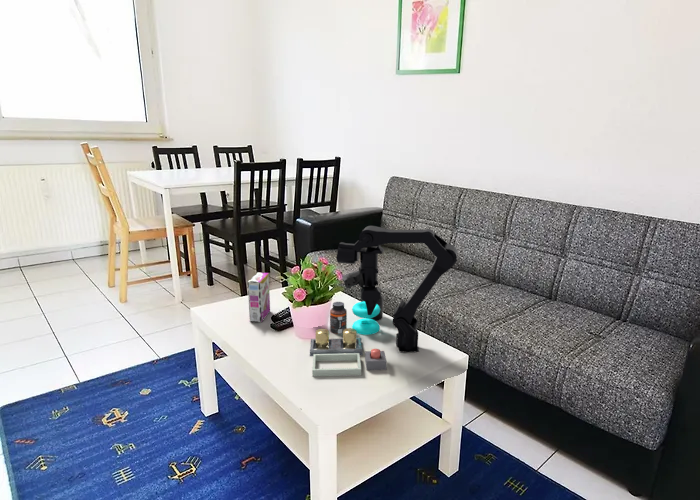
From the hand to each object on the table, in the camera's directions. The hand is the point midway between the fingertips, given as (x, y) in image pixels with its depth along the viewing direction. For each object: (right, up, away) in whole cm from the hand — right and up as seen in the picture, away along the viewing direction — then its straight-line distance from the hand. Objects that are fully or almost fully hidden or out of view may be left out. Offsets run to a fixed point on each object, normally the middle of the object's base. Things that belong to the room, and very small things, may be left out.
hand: (368, 309), depth 150 cm
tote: (-10, -17, -13) cm, 24 cm away
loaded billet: (-15, -13, -2) cm, 20 cm away
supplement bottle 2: (+3, -7, +23) cm, 24 cm away
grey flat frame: (-11, -13, -2) cm, 17 cm away
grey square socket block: (+2, -16, -12) cm, 20 cm away
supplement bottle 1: (-10, -10, +11) cm, 18 cm away
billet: (-6, -12, -2) cm, 14 cm away
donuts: (0, -10, +12) cm, 16 cm away
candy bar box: (-41, -6, +24) cm, 48 cm away
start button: (+2, -14, -13) cm, 19 cm away
